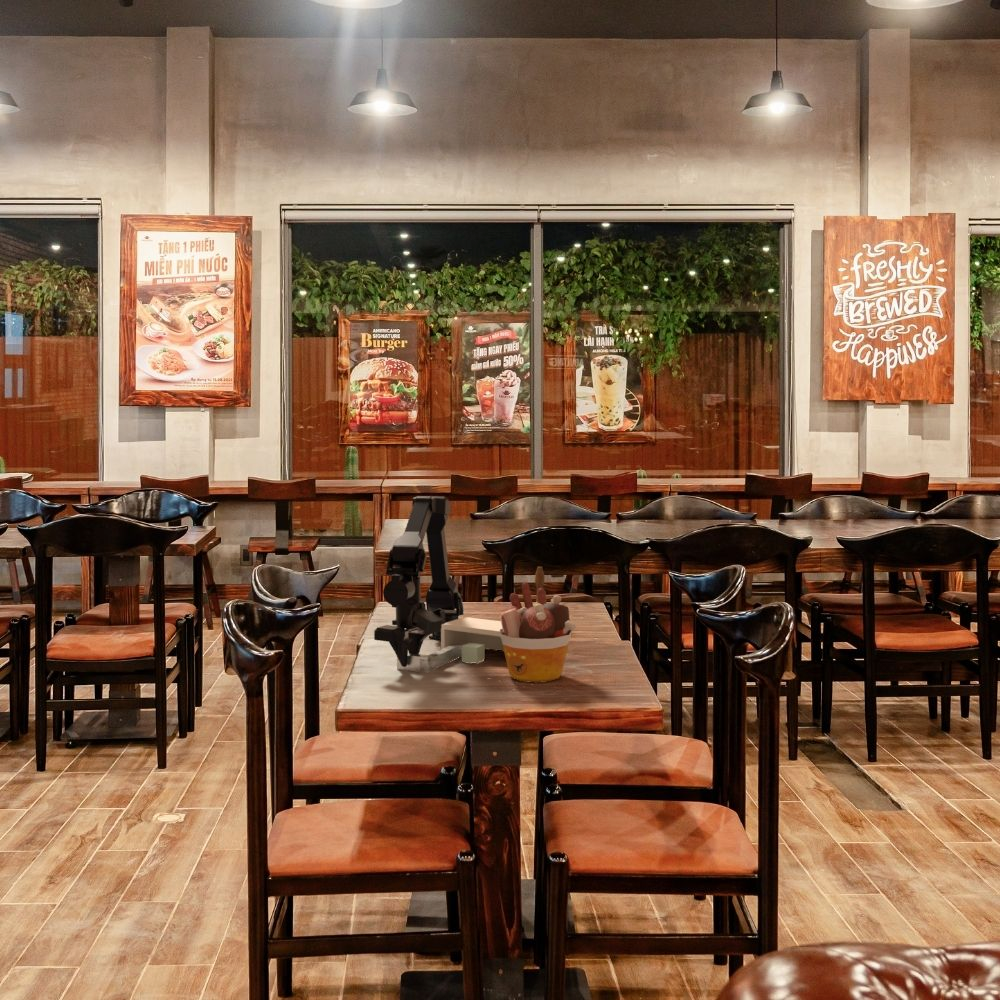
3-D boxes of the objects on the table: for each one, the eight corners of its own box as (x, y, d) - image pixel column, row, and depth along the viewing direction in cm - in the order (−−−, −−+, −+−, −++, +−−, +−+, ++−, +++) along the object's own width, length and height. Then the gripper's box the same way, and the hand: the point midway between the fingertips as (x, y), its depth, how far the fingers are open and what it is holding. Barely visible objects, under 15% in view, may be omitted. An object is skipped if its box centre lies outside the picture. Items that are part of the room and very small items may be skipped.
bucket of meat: (582, 685, 249) (582, 594, 247) (507, 689, 246) (507, 597, 244) (560, 664, 268) (560, 580, 267) (490, 668, 265) (490, 582, 264)
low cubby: (441, 653, 281) (440, 624, 280) (465, 645, 290) (464, 617, 289) (511, 662, 270) (510, 632, 270) (533, 654, 279) (533, 625, 279)
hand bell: (557, 622, 319) (557, 565, 317) (549, 627, 311) (549, 569, 310) (529, 620, 322) (529, 563, 320) (520, 626, 314) (520, 568, 312)
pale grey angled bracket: (397, 669, 265) (396, 654, 264) (433, 653, 281) (433, 639, 281) (447, 674, 259) (447, 659, 259) (481, 658, 276) (481, 643, 275)
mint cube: (462, 662, 271) (461, 646, 271) (469, 659, 275) (469, 642, 274) (477, 664, 270) (477, 647, 269) (484, 660, 273) (484, 644, 273)
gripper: (412, 607, 251) (413, 678, 252) (460, 594, 267) (460, 661, 268) (371, 603, 257) (373, 671, 258) (421, 590, 272) (421, 655, 274)
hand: (409, 665), depth 264 cm, fingers open, 3 cm apart
